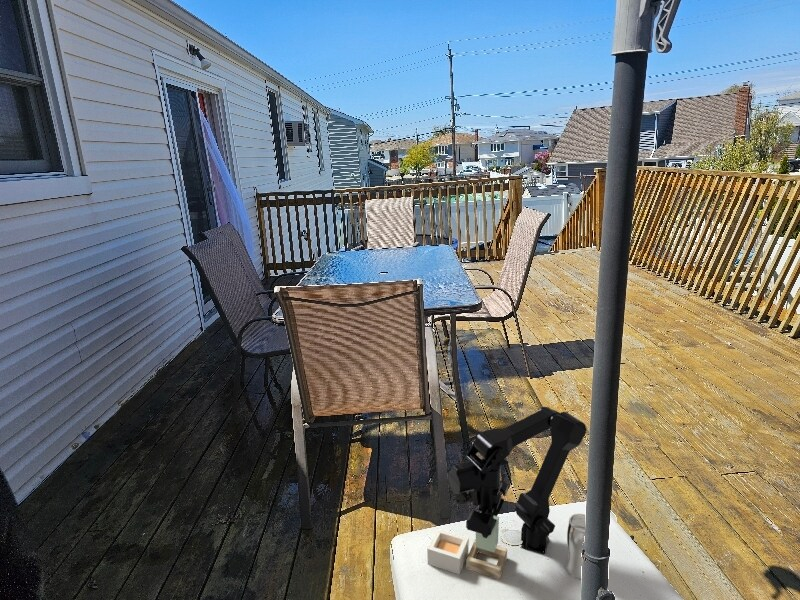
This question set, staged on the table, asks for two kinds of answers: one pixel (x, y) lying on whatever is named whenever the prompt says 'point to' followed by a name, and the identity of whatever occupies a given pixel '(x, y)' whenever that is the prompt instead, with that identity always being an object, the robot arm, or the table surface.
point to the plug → (488, 538)
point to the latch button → (448, 547)
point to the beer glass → (575, 544)
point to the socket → (447, 558)
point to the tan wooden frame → (485, 566)
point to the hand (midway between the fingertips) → (487, 531)
